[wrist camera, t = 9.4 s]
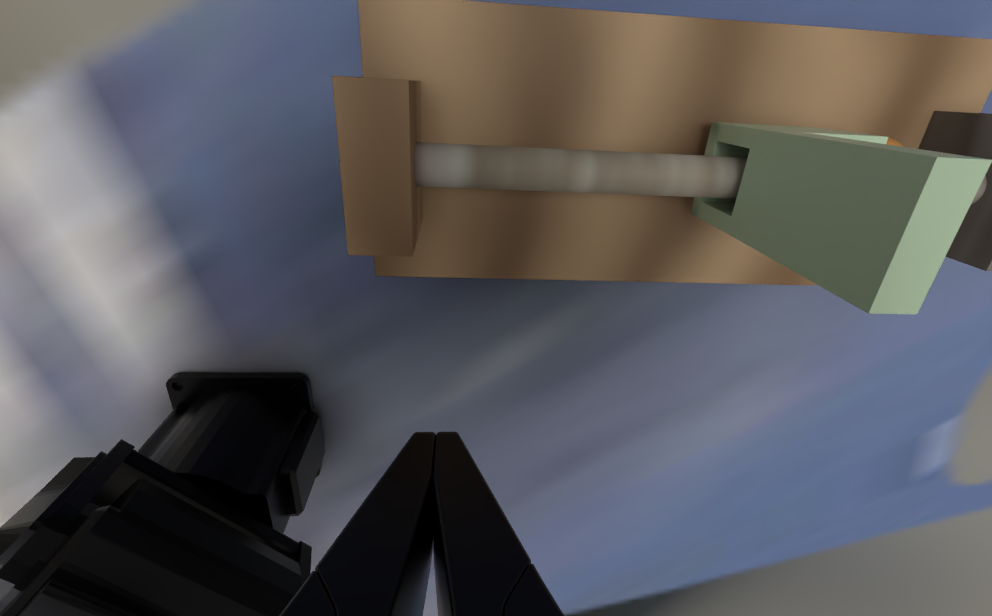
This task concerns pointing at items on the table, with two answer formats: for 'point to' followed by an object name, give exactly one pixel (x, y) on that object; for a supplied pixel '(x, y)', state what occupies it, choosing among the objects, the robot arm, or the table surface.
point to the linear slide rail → (615, 134)
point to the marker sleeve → (845, 208)
